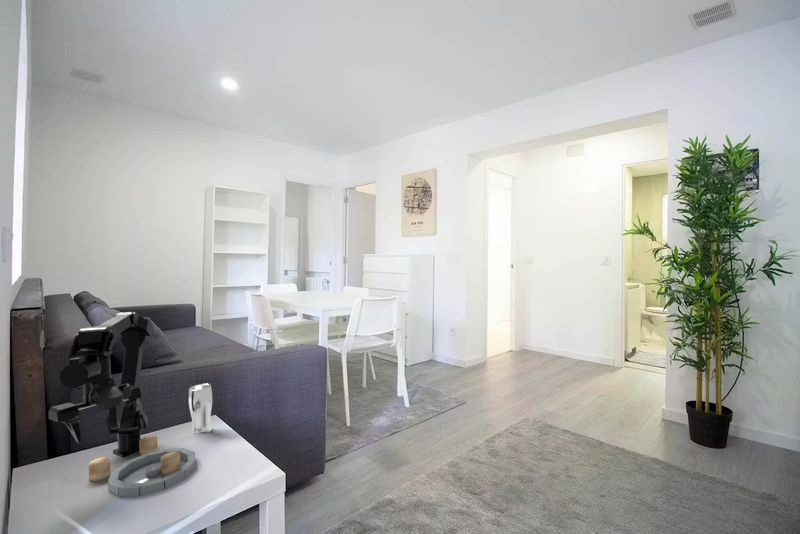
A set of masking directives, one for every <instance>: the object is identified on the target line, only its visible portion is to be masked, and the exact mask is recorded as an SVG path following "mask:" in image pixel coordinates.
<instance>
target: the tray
mask: <svg viewBox="0 0 800 534" xmlns="http://www.w3.org/2000/svg"><path fill="white" fill-rule="evenodd" d="M171 452H179V453H180V461H181V468H180V469H179V470H178V471H176V472H174V473H172V474H169V475H167V476H165V477H163V478H161V457H162V456H163V455H165V454H167V453H171ZM196 459H197V458H196V452H195V451H193V450H191V449H189V448H184V447H177V448H176V447H175V448H164V449H159V450H158V451H155V452H150V453H146V454H144V455H141V456H140V455H139V456H137V457H134V458H132V459H129V460H127V461H126V462H124V463H122V464H121V465H120V466H118V467H117V468H115V469H114V470H113V471H111V472H110V475H109V478H108V481H107V487H108V488H107V489H108V492H109V493H111V494H113V495H115V496H116V497H139V496H145V495H148V494H152V493H155V492H160V491H162V490H163V491H164V490H166V489H168V488H170V487H173V485H176V484H178V483H179V482H181V481H183V480H185V479H186V478H188V476H189V475H191V474H192V473H193V471H194V470H195V469H196V468H197V461H196Z"/></svg>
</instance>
